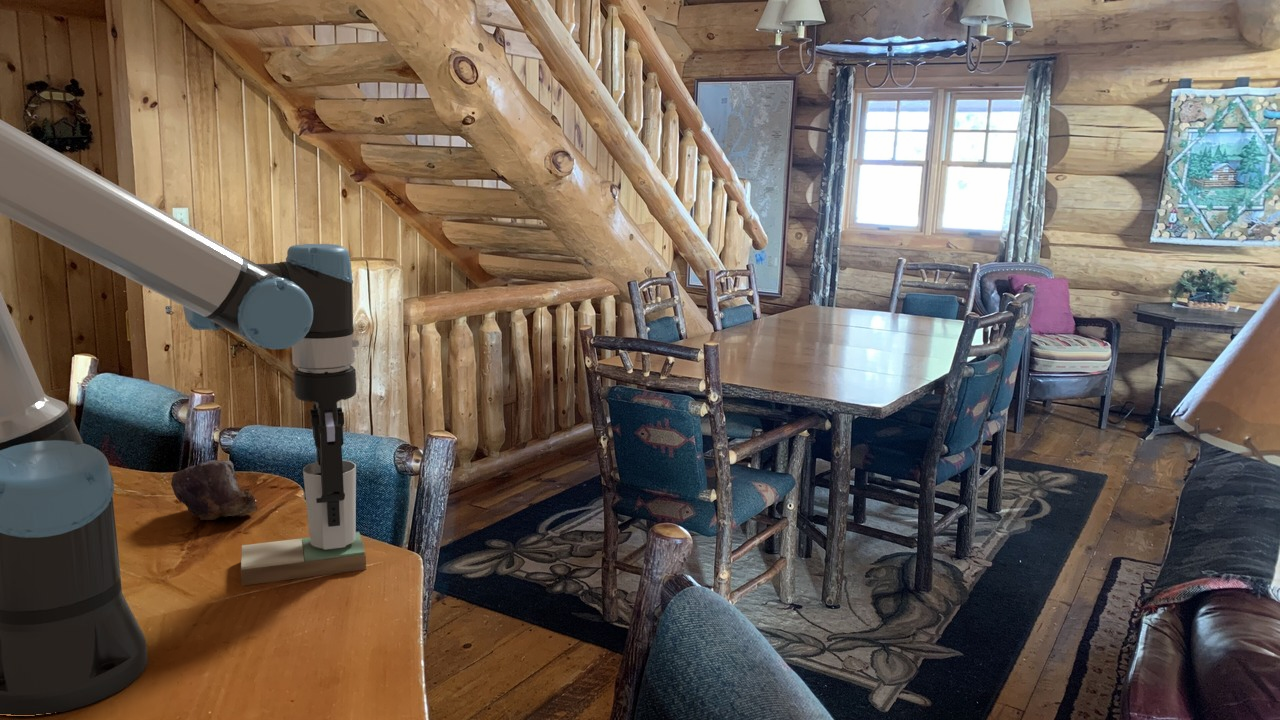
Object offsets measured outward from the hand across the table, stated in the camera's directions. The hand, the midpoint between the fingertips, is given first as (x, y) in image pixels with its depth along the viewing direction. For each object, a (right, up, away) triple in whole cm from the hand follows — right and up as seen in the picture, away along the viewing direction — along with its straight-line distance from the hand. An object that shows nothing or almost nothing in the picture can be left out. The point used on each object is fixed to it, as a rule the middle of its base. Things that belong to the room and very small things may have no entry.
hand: (332, 537), depth 126 cm
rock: (-23, 0, +16) cm, 28 cm away
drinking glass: (0, 0, 0) cm, 0 cm away
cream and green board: (-3, -3, -1) cm, 5 cm away
